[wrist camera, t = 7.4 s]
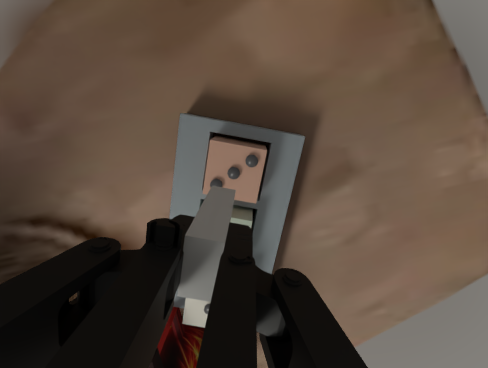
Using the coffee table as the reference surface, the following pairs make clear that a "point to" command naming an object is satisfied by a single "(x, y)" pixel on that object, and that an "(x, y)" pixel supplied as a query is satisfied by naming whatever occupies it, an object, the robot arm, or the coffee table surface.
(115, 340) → the robot arm
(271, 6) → the coffee table surface
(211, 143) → the key three
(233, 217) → the key two
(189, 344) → the mug
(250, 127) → the keypad board
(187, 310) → the key one
